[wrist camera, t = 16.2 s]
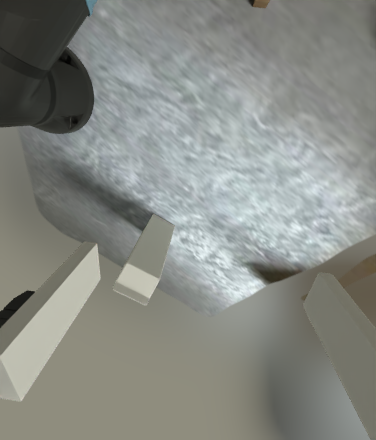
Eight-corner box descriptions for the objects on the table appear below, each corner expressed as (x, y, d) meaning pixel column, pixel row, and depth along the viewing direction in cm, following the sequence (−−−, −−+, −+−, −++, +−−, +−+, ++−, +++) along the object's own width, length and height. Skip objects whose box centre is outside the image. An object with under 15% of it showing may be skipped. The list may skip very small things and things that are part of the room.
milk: (153, 213, 50) (119, 275, 30) (175, 225, 51) (156, 293, 31) (142, 231, 52) (103, 300, 33) (163, 243, 53) (138, 317, 34)
